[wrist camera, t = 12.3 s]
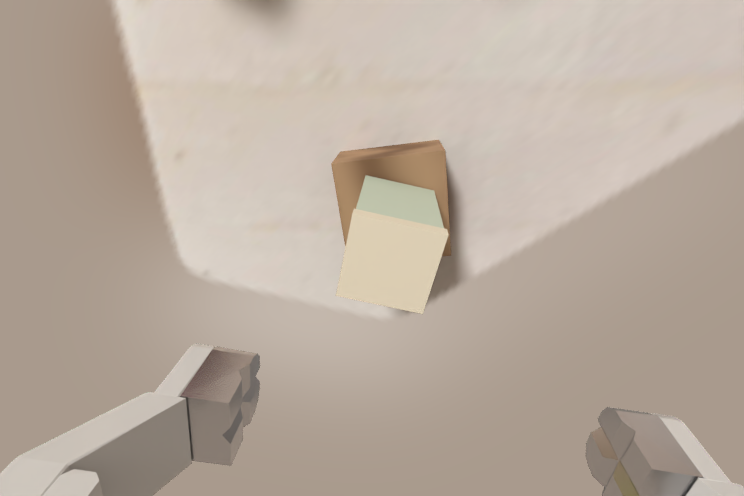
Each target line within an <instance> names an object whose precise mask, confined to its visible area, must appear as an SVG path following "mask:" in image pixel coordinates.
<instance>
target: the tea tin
mask: <svg viewBox="0 0 744 496" xmlns="http://www.w3.org/2000/svg"><path fill="white" fill-rule="evenodd" d="M447 238H448V231H447V229H444V226H443V222H442V218H441V215H440V211H439V207H438V203H437V199H436V196H435V192H434V190H430V189H425V188H421V187H416V186H412V185H407V184H403V183H398V182H394V181H389V180H385V179H381V178H376V177H372V176H367V175H366V176H365V179H364V183H363V186H362V190H361V193H360V196H359V200H358V203H357V207H356V209H354V210H353V213H352V218H351V223H350V228H349V233H348V238H347V243H346V248H345V252H344V257H343V262H342V267H341V272H340V277H339V282H338V287H337V292H336V296H340V297H345V298H349V299H354V300H359V301H363V302H368V303H373V304H378V305H382V306H387V307H392V308H396V309H401V310H406V311H410V312H415V313H420V314H423V312H424V309H425V306H426V303H427V300H428V297H429V294H430V291H431V287H432V284H433V281H434V278H435V275H436V272H437V269H438V266H439V263H440V260H441V257H442V254H443V251H444V247H445V244H446V241H447Z"/></svg>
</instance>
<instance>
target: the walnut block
mask: <svg viewBox="0 0 744 496" xmlns="http://www.w3.org/2000/svg"><path fill="white" fill-rule="evenodd" d="M331 165H332V170H333V176H334V182H335V188H336V194H337V200H338V206H339V212H340V218H341V223H342V229H343V235H344V241H345V247H346V243H347V238H348V233H349V228H350V223H351V218H352V213H353V210H354V209H356V207H357V203H358V200H359V196H360V193H361V190H362V186H363V183H364V179H365V176H366V175H367V176H372V177H376V178H381V179H385V180H389V181H394V182H398V183H403V184H407V185H412V186H416V187H421V188H425V189H430V190H434V192H435V196H436V199H437V203H438V207H439V211H440V215H441V218H442V222H443V226H444V229H447V231H448V238H447V241H446V244H445V247H444V251H443V254H442V256H450V255H451V246H450V228H449V210H448V192H447V174H446V156H445V149H444V148H443V146H442V144H441V143H440V141H439V140H433V141H425V142H417V143H409V144H400V145H392V146H384V147H376V148H368V149H360V150H351V151H343V152H340V153H339V154H338V156H337V157H336V158H335V160H334V161H333V162H332V164H331Z"/></svg>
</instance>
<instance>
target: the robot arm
mask: <svg viewBox="0 0 744 496" xmlns="http://www.w3.org/2000/svg"><path fill="white" fill-rule="evenodd" d="M259 368H260V356H259V355H258V354H256V353H250V352H245V351H239V350H233V349H228V348H222V347H214V346H209V345H202V344H197V343H196V344H194V345H192V346H191V347H190V348H189V349H188V350H187V352H186V353H185V354H184V355H183V357H182V358H181V359H180V360H179V362H178V363H177V364H176V365H175V367H174V368H173V369H172V370H171V372H170V373H169V374H168V376H167V377H166V378H165V379H164V381H163V382H162V383H161V385H160V386H159V387H158V388H157V390H156V391H155V392H154V393H150V392H146V393H144V394H142V395H141V396H138V397H136V398H134V399H132V400H130V401H128V402H126V403H124V404H122V405H120V406H118V407H116V408H114V409H112V410H110V411H108V412H107V413H104V414H102V415H100V416H98V417H96V418H94V419H92V420H90V421H88V422H86V423H84V424H82V425H80V426H78V427H76V428H74V429H72V430H70V431H68V432H66V433H64V434H62V435H60V436H58V437H57V438H54V439H52V440H50V441H48V442H46V443H45V444H42V445H40V446H38V447H36V448H34V449H32V450H30V451H28V452H26V453H24V454H22V455H20V456H18V457H17V458H16V459H14V461H12V463H10V464H9V465H8V466H7V467H6V468H5V469H4V470H3V471H2V472H1V473H0V496H153V495H154V494H155V493H156V492H157V491H159V490H160V489H161V488H162V487H163V486H165V485H166V484H167V483H169V482H170V481H171V480H172V479H173V478H174V477H176V476H177V475H178V474H179V473H180V472H182V471H183V470H184V469H185V468H187V467H188V466H189V465H190V464H192V461H198V462H206V463H214V464H222V465H229V466H230V465H232V462H233V460H234V458H235V456H236V454H237V451H238V449H239V447H240V445H241V442H242V440H243V427H245V426H246V425H248V424H249V423H250V422H251V420H252V417H253V415H254V412H255V409H256V405H257V402H258V396H259V389H260V382H259V380H258V379H257V378H256V374H257V372H258V370H259ZM598 421H599V423H600V426H601V427H600V428H598V429H597V430H595V431H593V432H591V434H590V436H589V438H588V441H587V443H586V458H587V463H588V466H589V469H590V471H591V473H592V476H593V477H594V478H595V479H596V480H597V481H598V482H599V483H600V484H602V485H603V486H604V490H603V493H602V496H744V487H742V486H741V485H740V484H735V483H731V482H730V480H729V479H728V478H727V477H726V475H725V474H724V473H723V471H722V470H721V469H720V468H719V466H717V464H716V463H715V461H714V460H713V459H712V458H711V456H710V455H709V454H708V453H707V451H706V450H705V449H704V448H703V446H702V445H701V444H700V443H699V441H698V440H697V439H696V438H695V436H694V435H693V434H692V433H691V431H690V430H689V429H688V428H687V426H686V425H685V424H684V423H683V421H681V420H680V419H678V418H677V417H675V416H668V415H661V414H654V413H652V414H650V413H644V412H638V411H631V410H624V409H616V408H610V407H607V408H606V409H604V410H603V411H602V412H601V414H600V416H599V418H598Z"/></svg>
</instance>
